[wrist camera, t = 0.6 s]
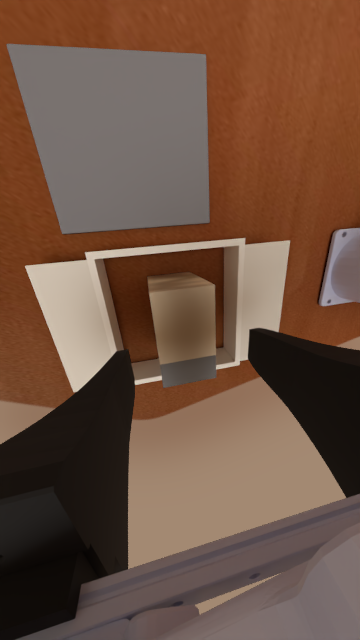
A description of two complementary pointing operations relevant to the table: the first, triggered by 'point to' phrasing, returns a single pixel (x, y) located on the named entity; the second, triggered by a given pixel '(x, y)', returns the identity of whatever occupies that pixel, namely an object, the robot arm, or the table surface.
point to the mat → (118, 134)
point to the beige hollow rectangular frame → (100, 318)
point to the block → (184, 327)
